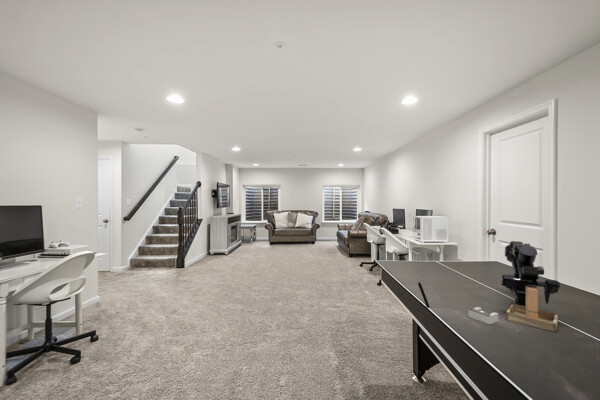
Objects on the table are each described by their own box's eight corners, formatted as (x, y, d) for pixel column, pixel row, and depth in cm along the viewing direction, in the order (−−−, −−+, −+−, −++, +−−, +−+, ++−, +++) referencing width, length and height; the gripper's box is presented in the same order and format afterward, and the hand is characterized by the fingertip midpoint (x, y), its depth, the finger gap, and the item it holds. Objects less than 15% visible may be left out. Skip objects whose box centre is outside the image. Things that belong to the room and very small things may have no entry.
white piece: (478, 314, 116) (478, 304, 116) (499, 321, 109) (499, 310, 109) (468, 317, 112) (468, 307, 112) (489, 325, 105) (489, 314, 105)
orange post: (525, 316, 112) (525, 286, 113) (535, 318, 111) (534, 287, 111) (528, 320, 108) (528, 289, 109) (538, 322, 107) (537, 290, 107)
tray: (511, 311, 120) (511, 303, 120) (557, 321, 109) (557, 313, 109) (506, 320, 110) (505, 312, 110) (556, 333, 99) (556, 324, 99)
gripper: (501, 256, 119) (505, 287, 109) (558, 261, 109) (568, 295, 99) (499, 270, 125) (503, 300, 116) (552, 276, 116) (561, 309, 106)
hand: (532, 301), depth 109 cm, fingers open, 9 cm apart
